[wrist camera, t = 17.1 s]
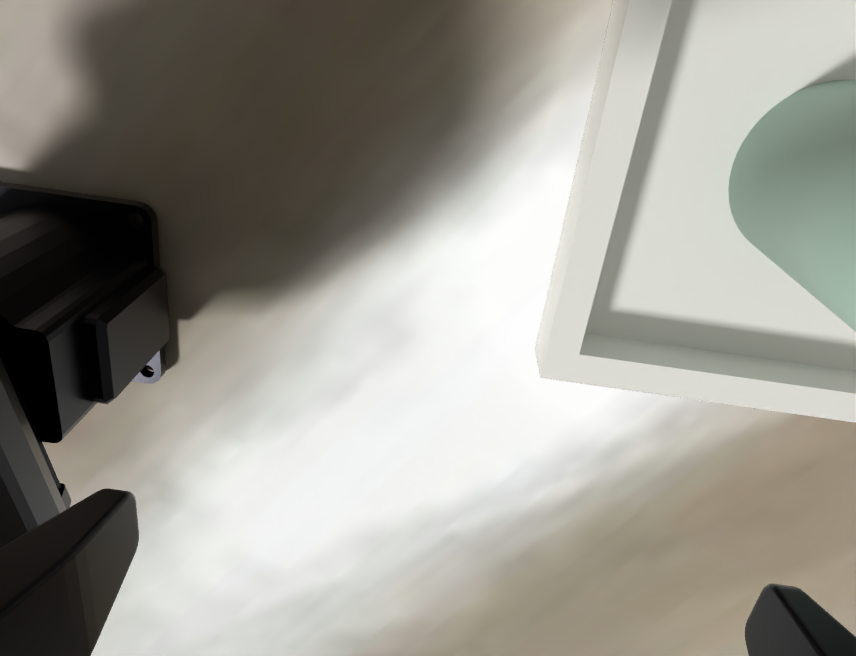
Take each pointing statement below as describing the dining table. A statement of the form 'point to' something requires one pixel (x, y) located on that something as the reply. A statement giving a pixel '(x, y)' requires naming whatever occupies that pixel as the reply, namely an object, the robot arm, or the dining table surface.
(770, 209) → the grey-green post
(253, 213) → the dining table surface
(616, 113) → the tray
